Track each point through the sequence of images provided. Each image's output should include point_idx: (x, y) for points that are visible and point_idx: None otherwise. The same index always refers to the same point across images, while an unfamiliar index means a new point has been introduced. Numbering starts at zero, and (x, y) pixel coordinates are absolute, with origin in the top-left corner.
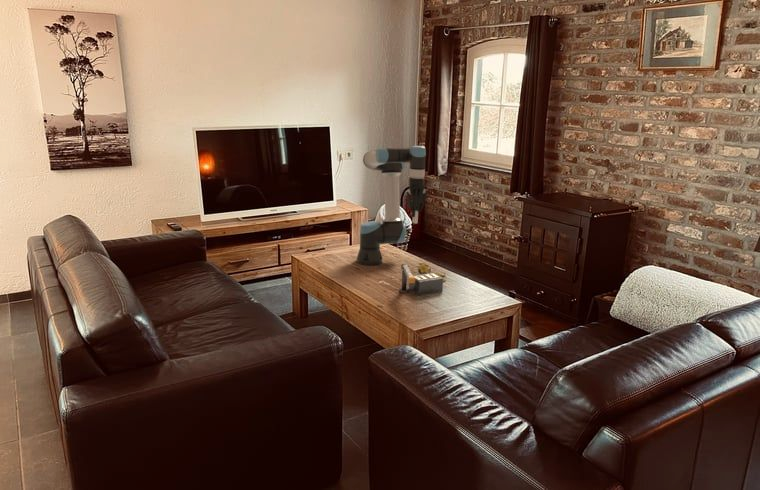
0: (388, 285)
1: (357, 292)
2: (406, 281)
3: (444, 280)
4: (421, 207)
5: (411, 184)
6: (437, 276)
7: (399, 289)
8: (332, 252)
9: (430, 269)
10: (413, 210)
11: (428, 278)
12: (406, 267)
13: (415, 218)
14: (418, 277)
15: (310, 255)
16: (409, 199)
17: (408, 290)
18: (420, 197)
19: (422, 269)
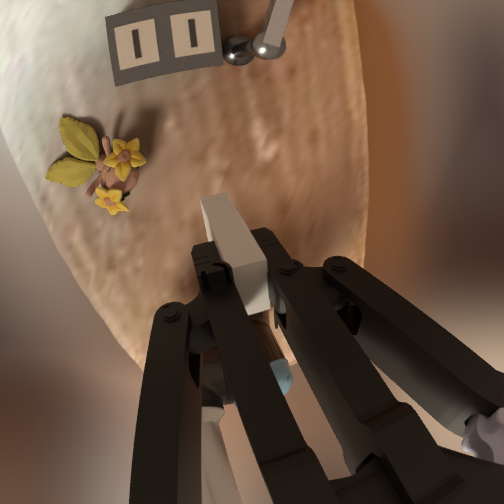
0: (261, 114)
1: (359, 92)
2: (242, 42)
3: (64, 119)
4: (181, 318)
5: None
6: (119, 32)
7: (251, 58)
8: (286, 357)
9: (89, 189)
10: (296, 266)
11: (162, 23)
12: (279, 14)
13: (237, 214)
14: (199, 35)
15: None
16: (456, 345)
17: (227, 42)
18: (262, 461)
19: (130, 151)
